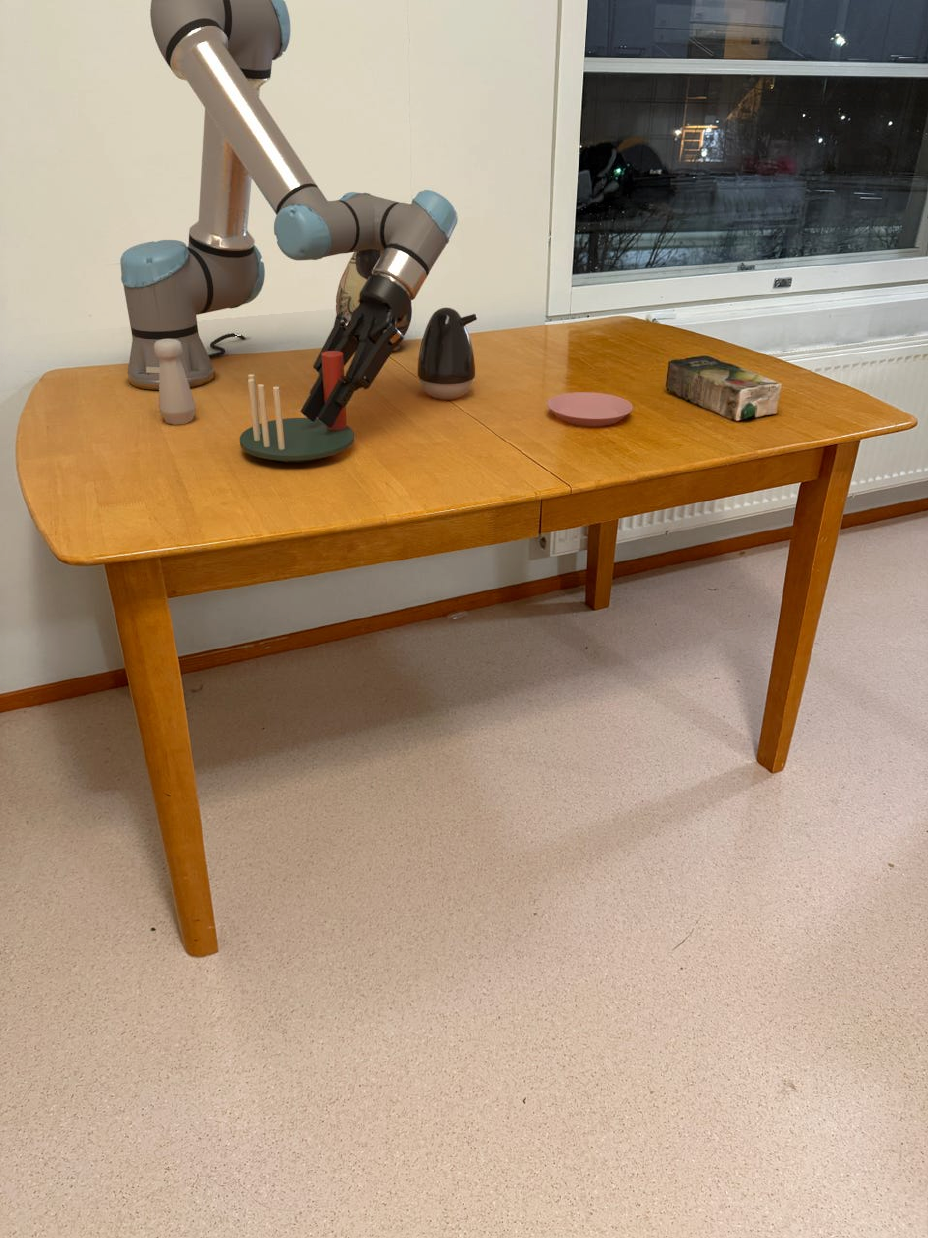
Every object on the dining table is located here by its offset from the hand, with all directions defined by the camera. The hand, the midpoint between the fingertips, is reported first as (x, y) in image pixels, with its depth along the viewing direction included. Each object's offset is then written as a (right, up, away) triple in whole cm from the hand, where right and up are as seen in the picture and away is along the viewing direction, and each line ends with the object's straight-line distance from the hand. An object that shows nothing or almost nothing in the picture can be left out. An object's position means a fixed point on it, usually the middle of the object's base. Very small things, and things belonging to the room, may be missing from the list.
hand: (315, 419), depth 138 cm
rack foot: (-3, -4, +1) cm, 5 cm away
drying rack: (-3, -4, +1) cm, 5 cm away
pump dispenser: (+19, +10, +26) cm, 34 cm away
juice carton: (+67, +8, +24) cm, 72 cm away
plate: (+43, +4, +17) cm, 47 cm away
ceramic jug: (+4, +26, +53) cm, 59 cm away
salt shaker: (-24, +2, +13) cm, 28 cm away
